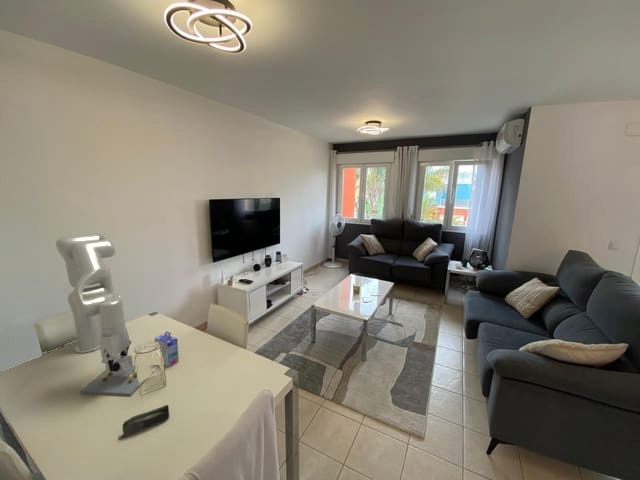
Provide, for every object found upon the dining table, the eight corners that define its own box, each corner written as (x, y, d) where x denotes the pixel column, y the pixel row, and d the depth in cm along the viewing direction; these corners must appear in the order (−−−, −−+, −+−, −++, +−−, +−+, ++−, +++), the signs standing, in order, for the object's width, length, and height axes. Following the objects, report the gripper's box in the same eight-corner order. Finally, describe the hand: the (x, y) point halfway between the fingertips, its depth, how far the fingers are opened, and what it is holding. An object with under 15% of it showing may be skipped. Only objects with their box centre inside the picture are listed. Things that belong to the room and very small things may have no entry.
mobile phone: (167, 402, 97) (117, 421, 88) (169, 407, 94) (116, 428, 86) (168, 413, 98) (118, 434, 89) (169, 419, 95) (118, 441, 86)
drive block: (115, 364, 114) (113, 354, 113) (132, 365, 114) (131, 355, 113) (106, 371, 110) (104, 361, 109) (124, 372, 109) (123, 362, 108)
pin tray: (113, 366, 121) (111, 358, 120) (156, 369, 120) (156, 361, 120) (80, 393, 106) (79, 384, 105) (130, 396, 105) (129, 387, 104)
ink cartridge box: (179, 360, 127) (177, 333, 124) (169, 367, 122) (166, 339, 119) (166, 354, 131) (164, 328, 128) (155, 360, 126) (153, 333, 123)
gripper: (121, 317, 116) (126, 354, 120) (86, 339, 100) (93, 380, 103) (137, 318, 116) (141, 354, 120) (105, 340, 100) (111, 381, 103)
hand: (119, 366), depth 112 cm, fingers closed on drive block, 4 cm apart
